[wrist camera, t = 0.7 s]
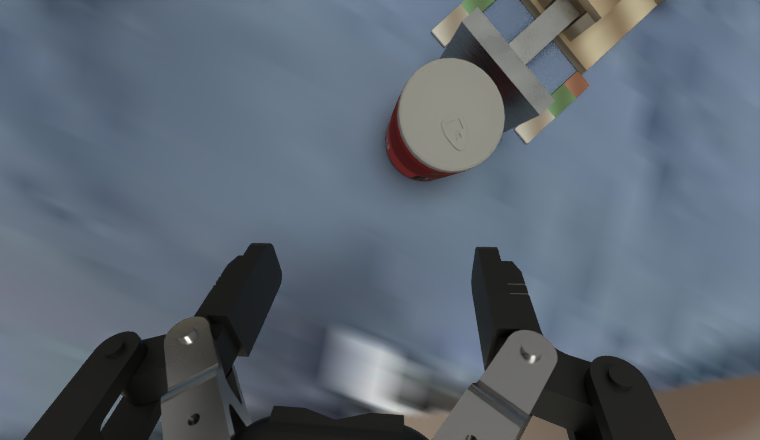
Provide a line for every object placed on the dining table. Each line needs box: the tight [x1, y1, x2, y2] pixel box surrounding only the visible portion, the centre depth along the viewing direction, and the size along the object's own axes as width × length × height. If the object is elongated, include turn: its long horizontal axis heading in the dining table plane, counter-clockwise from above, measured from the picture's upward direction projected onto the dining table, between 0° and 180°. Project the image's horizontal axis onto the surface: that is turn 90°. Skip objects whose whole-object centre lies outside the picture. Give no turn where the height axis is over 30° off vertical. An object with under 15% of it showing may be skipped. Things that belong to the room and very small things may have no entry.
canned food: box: [385, 58, 505, 181], centre depth 29 cm, size 8×8×11 cm
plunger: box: [440, 0, 580, 133], centre depth 29 cm, size 12×9×8 cm
